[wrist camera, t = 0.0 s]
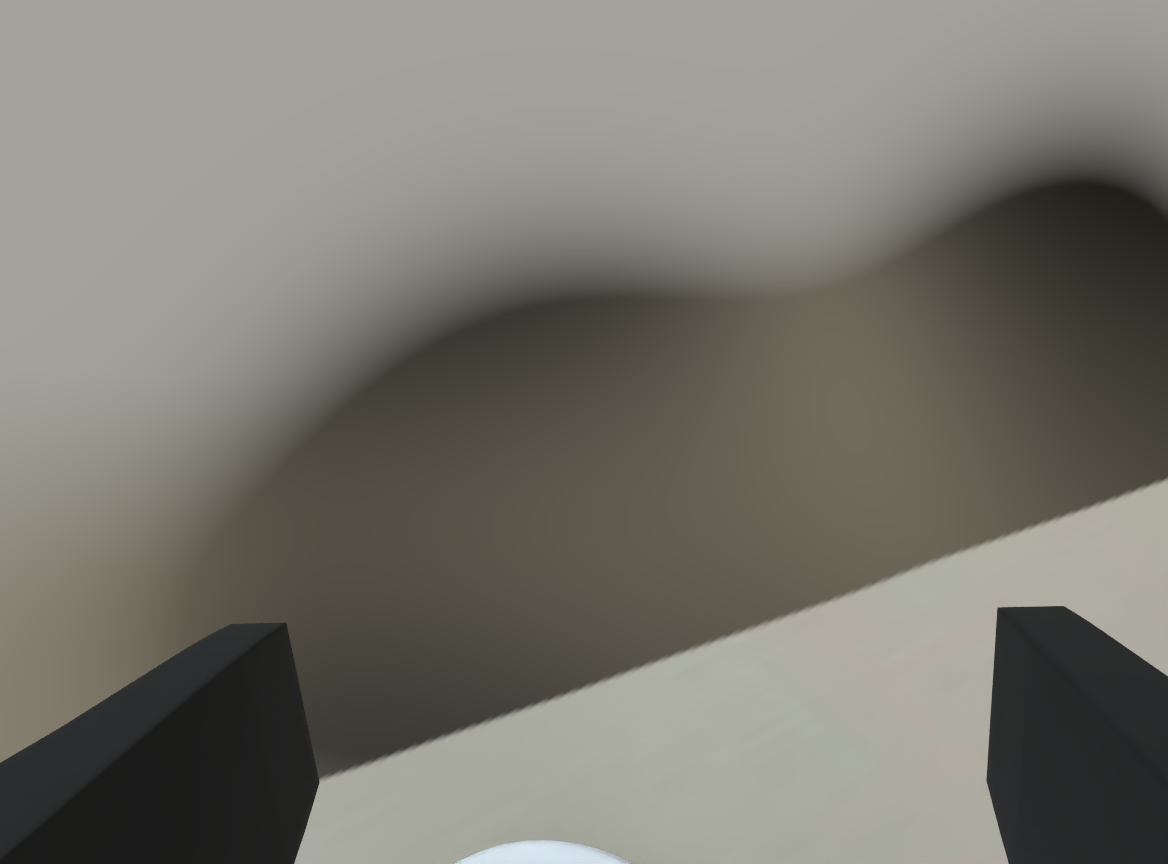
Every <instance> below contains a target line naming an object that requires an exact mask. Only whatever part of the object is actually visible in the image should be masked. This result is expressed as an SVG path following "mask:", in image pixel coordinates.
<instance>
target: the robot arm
mask: <svg viewBox="0 0 1168 864" xmlns="http://www.w3.org/2000/svg"><path fill="white" fill-rule="evenodd" d="M987 784H988V788H989V792H990V796H991V799H992V803H993V807H994V811H995V815H996V819H997V822H998V826H999V830H1000V834H1001V837H1002V841H1003V844H1004V848H1005V851H1006V855H1007V858H1008V862H1009V864H1168V676H1166V675H1165V674H1163V673H1162V672H1161V671H1159V670H1158V669H1156V668H1155V667H1153V666H1152V665H1151V664H1149V663H1148V662H1146V661H1145V660H1143V659H1142V658H1140V657H1139V656H1138V655H1136V654H1135V653H1133V652H1132V651H1130V650H1129V649H1128V648H1126V647H1125V646H1123V645H1122V644H1120V643H1119V642H1117V641H1116V640H1115V639H1113V638H1112V637H1110V636H1109V635H1107V634H1106V633H1104V632H1103V631H1102V630H1100V629H1099V628H1097V627H1096V626H1094V625H1093V624H1091V623H1090V622H1088V621H1087V620H1085V619H1084V618H1082V617H1081V616H1079V615H1077V614H1076V613H1074V612H1072V611H1071V610H1069V609H1067V608H1066V607H1064V606H1048V607H1001V608H998V610H997V625H996V641H995V657H994V672H993V688H992V704H991V719H990V735H989V751H988V766H987ZM318 785H319V778H318V774H317V769H316V764H315V759H314V755H313V750H312V745H311V740H310V735H309V731H308V725H307V721H306V716H305V711H304V706H303V701H302V696H301V692H300V687H299V682H298V677H297V672H296V668H295V663H294V658H293V653H292V648H291V644H290V639H289V635H288V630H287V624H286V623H259V624H258V623H256V624H230V625H228V626H226V627H224V628H222V629H220V630H218V631H216V632H214V633H212V634H211V635H209V636H207V637H205V638H203V639H202V640H200V641H198V642H197V643H195V644H193V645H192V646H190V647H188V648H186V649H185V650H183V651H181V652H180V653H178V654H177V655H175V656H173V657H172V658H170V659H169V660H167V661H165V662H164V663H162V664H161V665H159V666H157V667H156V668H154V669H153V670H151V671H149V672H148V673H146V674H145V675H143V676H142V677H140V678H138V679H137V680H135V681H134V682H132V683H131V684H129V685H127V686H126V687H124V688H123V689H121V690H119V691H118V692H116V693H115V694H113V695H111V696H110V697H108V698H107V699H105V700H104V701H102V702H100V703H99V704H98V705H96V706H94V707H92V708H91V709H89V710H88V711H86V712H85V713H83V714H81V715H80V716H79V717H77V718H75V719H74V720H72V721H70V722H69V723H67V724H66V725H64V726H62V727H61V728H59V729H57V730H56V731H54V732H52V733H50V734H49V735H47V736H45V737H44V738H42V739H40V740H39V741H37V742H36V743H34V744H32V745H30V746H29V747H27V748H25V749H23V750H22V751H20V752H18V753H16V754H15V755H13V756H11V757H10V758H8V759H6V760H4V761H3V762H1V763H0V864H294V862H295V859H296V856H297V853H298V850H299V847H300V844H301V841H302V838H303V835H304V832H305V829H306V826H307V822H308V819H309V816H310V812H311V809H312V806H313V802H314V799H315V795H316V792H317V789H318Z"/></svg>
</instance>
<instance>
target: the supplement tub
mask: <svg viewBox="0 0 1168 864" xmlns="http://www.w3.org/2000/svg"><path fill="white" fill-rule="evenodd" d="M454 864H631V863H630V862H628V861H626V860H624V859H622V858H620V857H618V856H615V855H613V854H611V853H608V852H606V851H603V850H600V849H596V848H593V847H590V846H586V845H581V844H577V843H569V842H562V841H553V840H530V841H520V842H514V843H508V844H502V845H499V846H495V847H492V848H489V849H486V850H483V851H480V852H478V853H475V854H473V855H471V856H469V857H467V858H465V859H463V860H461V861H459V862H456V863H454Z"/></svg>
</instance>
